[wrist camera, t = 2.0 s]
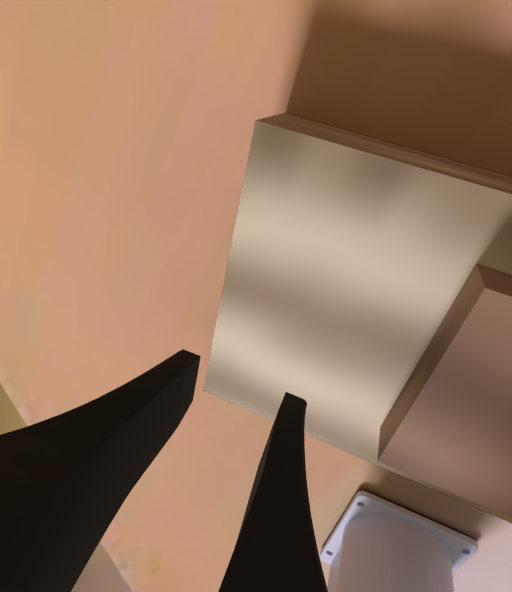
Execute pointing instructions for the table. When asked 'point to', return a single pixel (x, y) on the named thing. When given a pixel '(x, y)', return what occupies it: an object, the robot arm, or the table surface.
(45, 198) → the table surface
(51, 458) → the robot arm
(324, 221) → the tan flat block
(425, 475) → the walnut tile
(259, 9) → the table surface
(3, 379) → the table surface
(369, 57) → the table surface
